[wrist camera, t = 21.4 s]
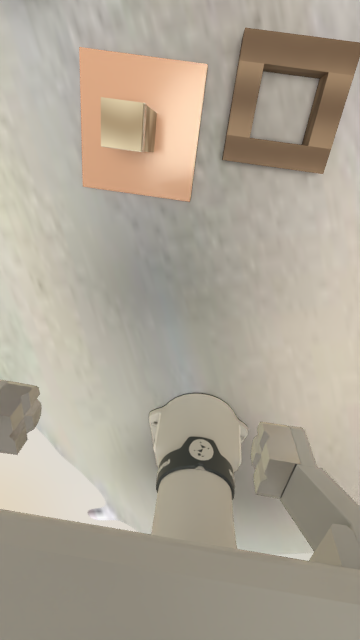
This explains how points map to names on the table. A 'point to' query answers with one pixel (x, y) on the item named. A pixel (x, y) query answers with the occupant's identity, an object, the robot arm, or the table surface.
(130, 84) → the terracotta tile
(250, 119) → the walnut collar holder
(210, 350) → the table surface
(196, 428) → the robot arm
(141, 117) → the block
